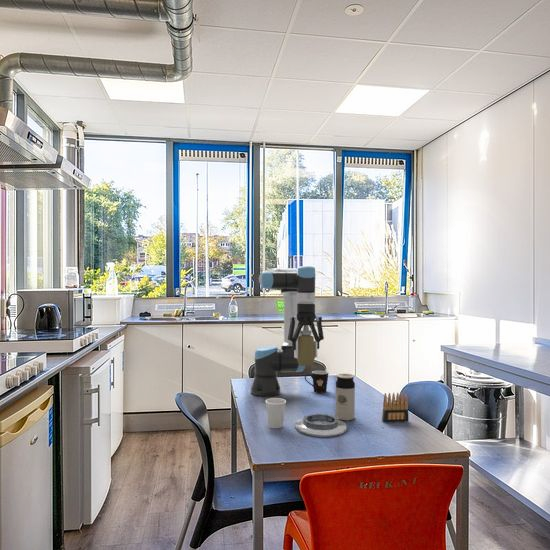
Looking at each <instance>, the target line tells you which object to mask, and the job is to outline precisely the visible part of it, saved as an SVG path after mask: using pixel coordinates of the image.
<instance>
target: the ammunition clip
mask: <svg viewBox="0 0 550 550" xmlns="http://www.w3.org/2000/svg"><path fill="white" fill-rule="evenodd" d="M382 404H383V407H382V408H383V409H382V415H381V416H382V418H381V421H382V423H384V422H393V423H408V422H407V421H409V422H410V420H409V403H408V394H407V392H405V393H404V394H403V392H401V393H400V394H399V392H397V393H396V395H395V392H393V393H392V395H391V392H388V396H387V393H386V392H385V393H384V395H383V403H382ZM405 421H406V422H405Z"/></svg>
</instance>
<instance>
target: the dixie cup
mask: <svg viewBox="0 0 550 550" xmlns="http://www.w3.org/2000/svg"><path fill="white" fill-rule="evenodd" d="M286 403H287V400H286V399H284V398H282V397H281V398H280V397H270V398H266V400H265V408H266V415H267V423H268V424H267V425H268V427H269V428H270V427H271V428H270V429H281V428H283V426H284V419H285V411H286Z"/></svg>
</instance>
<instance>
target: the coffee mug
mask: <svg viewBox="0 0 550 550" xmlns="http://www.w3.org/2000/svg"><path fill="white" fill-rule="evenodd" d="M308 376H310V377H311V379H312V383H311V382H309V380H307V377H308ZM328 379H329V371H327V370H313V371H311V373H310V374H308V373H307V374H305V375H304V380H305V382H307V383H308V384H309V385H311V386H312V387H313V392H314V393H317V394H325V393H326V392H327V387H328V381H329V380H328Z"/></svg>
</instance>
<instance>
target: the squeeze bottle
mask: <svg viewBox="0 0 550 550" xmlns="http://www.w3.org/2000/svg"><path fill="white" fill-rule="evenodd" d="M300 334H301V335H300V336H299V337H298V358H297V361H298V364H299V365H301V366H305V367H309V366H313V364H314V362H315V359H316V357H315V348H314V341H315V338H314V336H313V335H312V331H311V329H310V327H309V325H303V327H302V329H301V331H300Z"/></svg>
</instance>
